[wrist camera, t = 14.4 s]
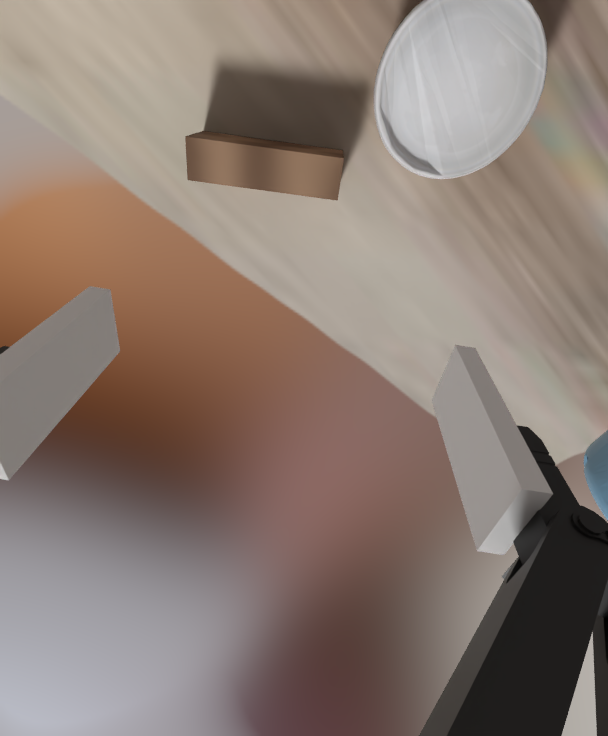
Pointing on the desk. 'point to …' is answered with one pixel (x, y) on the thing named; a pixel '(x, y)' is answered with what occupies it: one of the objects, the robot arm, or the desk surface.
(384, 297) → the desk surface
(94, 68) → the desk surface
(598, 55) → the desk surface
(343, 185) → the desk surface
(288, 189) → the walnut crossbar stand
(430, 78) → the ramekin
